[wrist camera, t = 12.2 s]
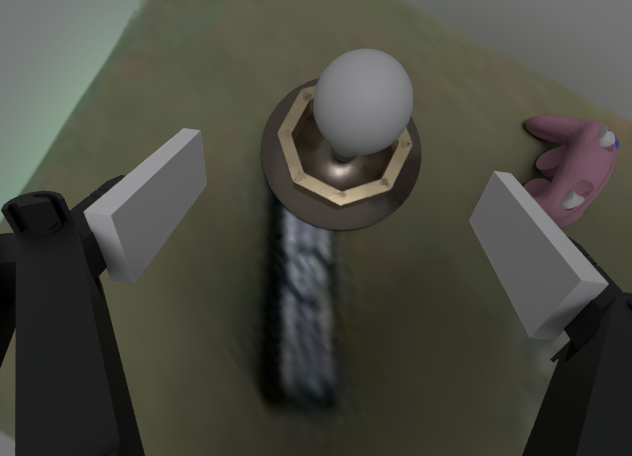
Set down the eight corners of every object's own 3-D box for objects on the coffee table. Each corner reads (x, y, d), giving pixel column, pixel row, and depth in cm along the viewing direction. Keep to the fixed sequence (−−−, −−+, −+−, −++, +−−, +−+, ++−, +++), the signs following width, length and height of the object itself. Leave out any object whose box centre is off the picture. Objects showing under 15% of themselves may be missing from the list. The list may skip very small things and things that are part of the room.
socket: (441, 123, 29) (459, 103, 26) (376, 258, 27) (386, 257, 24) (307, 57, 30) (307, 29, 26) (234, 186, 28) (224, 175, 24)
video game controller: (500, 229, 30) (588, 241, 23) (474, 201, 28) (562, 207, 22) (547, 144, 31) (643, 134, 25) (525, 112, 29) (622, 93, 23)
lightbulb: (297, 133, 27) (297, 45, 17) (360, 108, 28) (400, 7, 17) (326, 196, 27) (345, 148, 16) (389, 169, 28) (449, 105, 17)
